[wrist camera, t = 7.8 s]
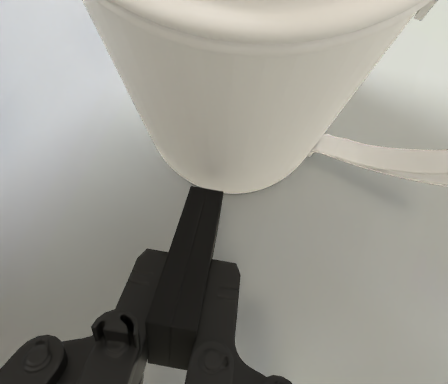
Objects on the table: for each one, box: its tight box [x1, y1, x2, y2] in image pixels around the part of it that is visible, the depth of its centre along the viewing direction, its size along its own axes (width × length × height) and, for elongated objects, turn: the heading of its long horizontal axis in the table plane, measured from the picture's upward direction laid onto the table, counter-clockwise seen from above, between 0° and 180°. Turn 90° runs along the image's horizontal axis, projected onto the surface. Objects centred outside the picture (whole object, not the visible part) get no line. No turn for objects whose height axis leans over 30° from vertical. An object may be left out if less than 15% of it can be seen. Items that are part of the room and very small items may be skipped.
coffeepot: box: [82, 0, 448, 194], centre depth 11 cm, size 11×25×19 cm, turn 61°
